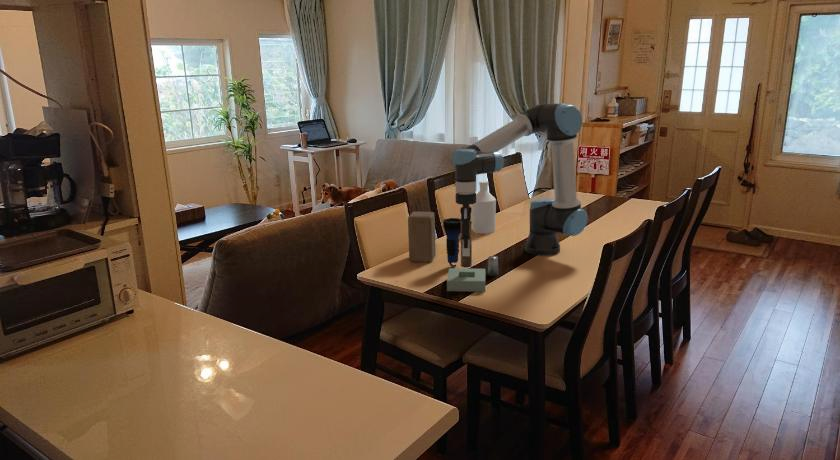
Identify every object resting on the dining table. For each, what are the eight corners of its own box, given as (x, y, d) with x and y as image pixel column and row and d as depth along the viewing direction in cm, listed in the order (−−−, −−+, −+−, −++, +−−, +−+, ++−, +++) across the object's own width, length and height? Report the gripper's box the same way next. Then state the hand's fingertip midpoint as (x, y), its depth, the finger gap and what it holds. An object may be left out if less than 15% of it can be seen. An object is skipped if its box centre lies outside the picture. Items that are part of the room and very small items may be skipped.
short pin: (498, 272, 236) (498, 255, 234) (498, 276, 232) (498, 259, 230) (488, 272, 236) (488, 255, 235) (488, 275, 233) (488, 258, 231)
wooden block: (431, 263, 250) (430, 217, 245) (408, 262, 252) (407, 216, 247) (436, 255, 260) (435, 211, 254) (413, 255, 262) (412, 211, 256)
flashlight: (460, 271, 239) (459, 223, 234) (441, 269, 242) (440, 222, 236) (465, 265, 246) (465, 218, 241) (447, 263, 249) (446, 217, 244)
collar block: (485, 278, 230) (485, 268, 229) (485, 291, 216) (485, 281, 215) (449, 278, 231) (449, 268, 230) (447, 291, 218) (446, 280, 217)
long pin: (471, 264, 224) (471, 220, 219) (471, 267, 220) (471, 223, 215) (461, 264, 224) (460, 220, 220) (460, 267, 220) (460, 223, 216)
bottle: (479, 226, 305) (479, 178, 299) (500, 229, 298) (500, 180, 292) (467, 232, 296) (467, 182, 289) (488, 235, 289) (488, 184, 283)
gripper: (456, 187, 223) (457, 247, 229) (454, 197, 207) (455, 261, 213) (476, 187, 222) (476, 247, 228) (475, 197, 206) (475, 261, 212)
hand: (466, 253), depth 221 cm, fingers closed on long pin, 4 cm apart
